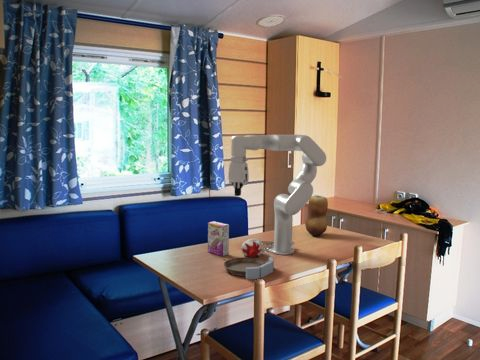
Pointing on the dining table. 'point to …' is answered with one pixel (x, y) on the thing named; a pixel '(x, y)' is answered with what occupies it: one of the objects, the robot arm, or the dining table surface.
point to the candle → (251, 248)
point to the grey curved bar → (260, 270)
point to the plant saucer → (242, 264)
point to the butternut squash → (317, 215)
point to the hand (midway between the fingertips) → (237, 195)
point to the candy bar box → (218, 238)
